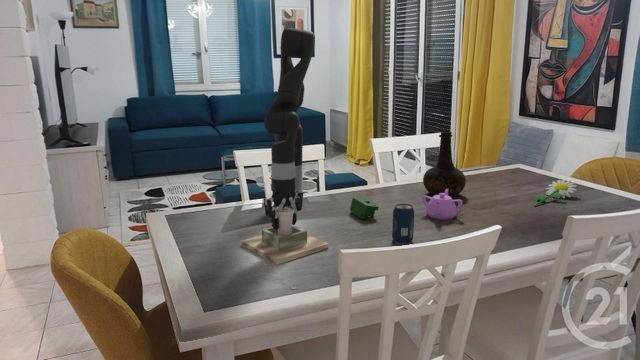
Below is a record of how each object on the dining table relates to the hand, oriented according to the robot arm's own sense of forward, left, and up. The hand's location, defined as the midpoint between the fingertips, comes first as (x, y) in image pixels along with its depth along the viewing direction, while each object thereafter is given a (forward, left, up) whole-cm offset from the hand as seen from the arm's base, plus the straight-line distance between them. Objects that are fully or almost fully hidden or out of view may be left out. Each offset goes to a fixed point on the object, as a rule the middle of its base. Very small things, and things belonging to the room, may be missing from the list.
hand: (284, 226), depth 162 cm
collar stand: (0, 0, -7) cm, 7 cm away
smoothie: (0, 0, -4) cm, 4 cm away
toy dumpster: (-6, +42, -7) cm, 43 cm away
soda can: (+21, +33, -7) cm, 40 cm away
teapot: (+13, +64, -7) cm, 66 cm away
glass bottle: (-4, +88, -7) cm, 88 cm away
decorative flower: (+30, +117, -7) cm, 120 cm away
